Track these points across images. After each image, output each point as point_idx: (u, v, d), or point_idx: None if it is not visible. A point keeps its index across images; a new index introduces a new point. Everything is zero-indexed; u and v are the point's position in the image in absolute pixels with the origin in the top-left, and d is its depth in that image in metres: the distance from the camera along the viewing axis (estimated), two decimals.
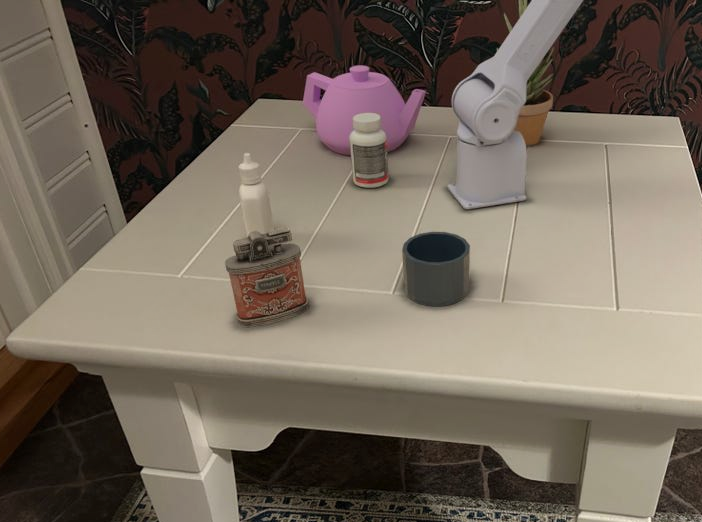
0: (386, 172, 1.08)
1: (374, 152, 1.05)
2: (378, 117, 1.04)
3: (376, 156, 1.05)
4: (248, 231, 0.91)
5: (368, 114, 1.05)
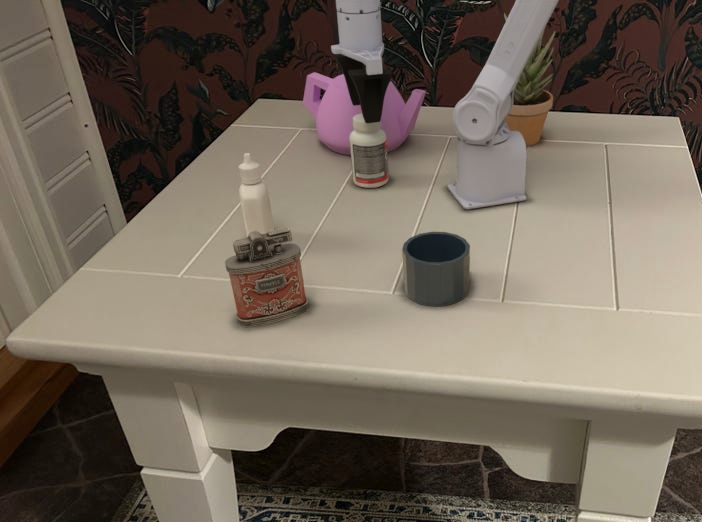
0: (386, 172, 1.08)
1: (373, 152, 1.05)
2: None
3: (376, 156, 1.05)
4: (248, 231, 0.91)
5: None
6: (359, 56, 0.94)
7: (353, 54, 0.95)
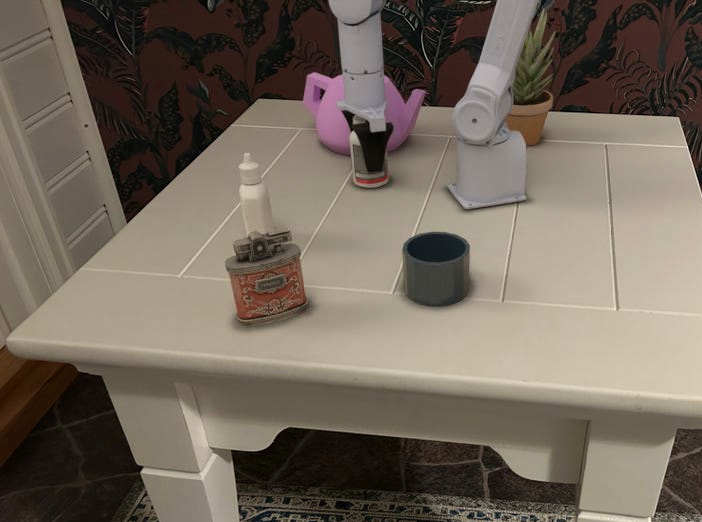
0: (386, 172, 1.08)
1: None
2: None
3: None
4: (248, 231, 0.91)
5: None
6: (363, 114, 0.99)
7: (358, 111, 1.00)
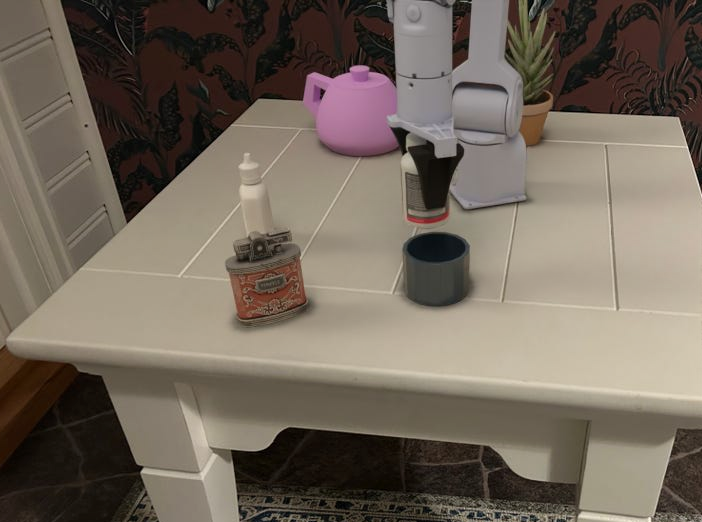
0: (447, 208, 0.82)
1: None
2: None
3: None
4: (248, 231, 0.91)
5: None
6: (426, 133, 0.73)
7: (417, 129, 0.73)
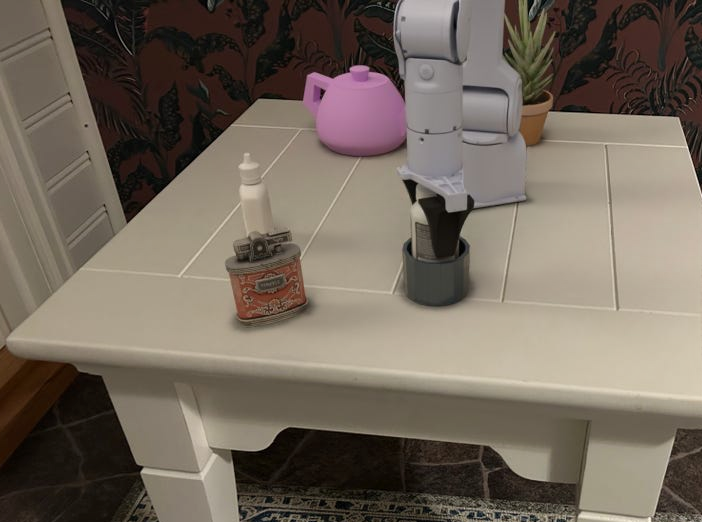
0: (457, 255, 0.82)
1: None
2: None
3: None
4: (248, 231, 0.91)
5: None
6: (436, 187, 0.73)
7: (428, 183, 0.74)
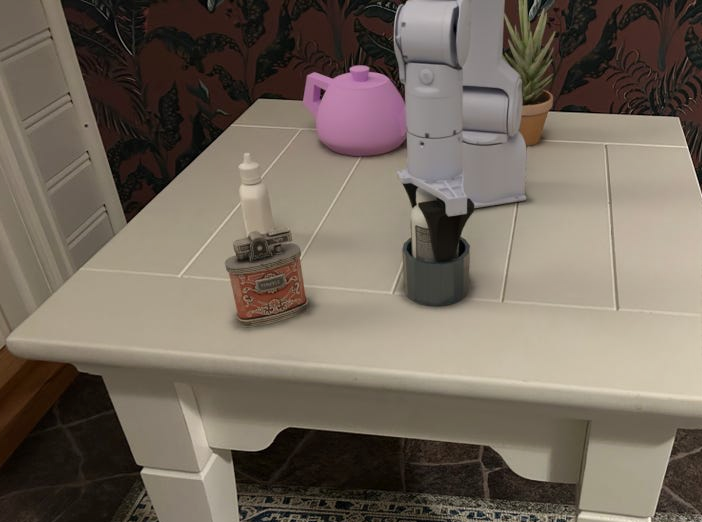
0: None
1: None
2: None
3: None
4: (248, 231, 0.91)
5: None
6: (436, 191, 0.73)
7: (428, 187, 0.74)
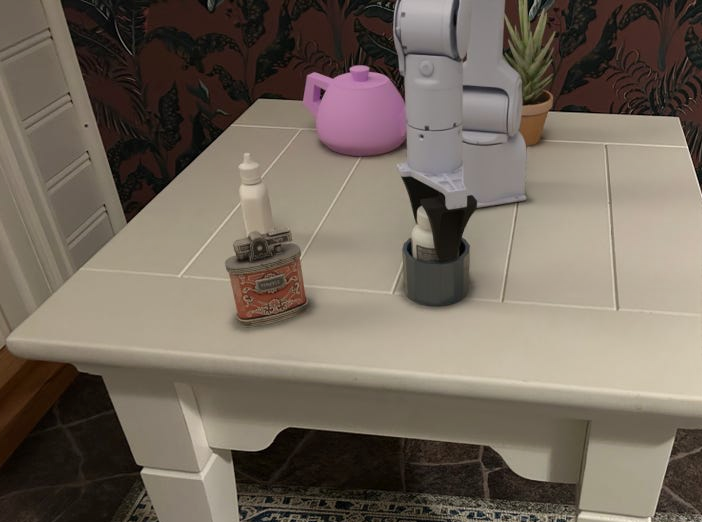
0: None
1: None
2: None
3: (447, 259, 0.81)
4: (248, 231, 0.91)
5: None
6: (436, 184, 0.73)
7: (428, 180, 0.74)
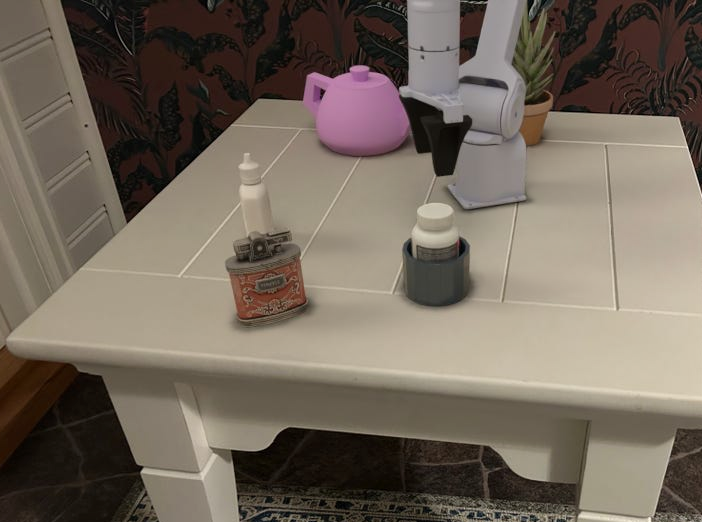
0: None
1: (444, 255, 0.81)
2: (450, 210, 0.80)
3: (446, 259, 0.81)
4: (248, 231, 0.91)
5: (436, 205, 0.81)
6: (435, 101, 0.80)
7: (427, 98, 0.81)
